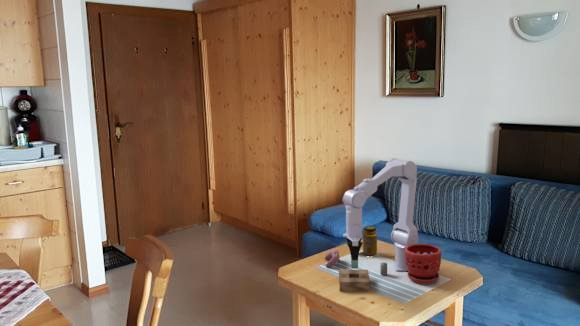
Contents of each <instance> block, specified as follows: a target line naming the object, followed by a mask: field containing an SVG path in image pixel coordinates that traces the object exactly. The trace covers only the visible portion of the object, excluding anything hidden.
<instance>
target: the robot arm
mask: <svg viewBox="0 0 580 326" xmlns="http://www.w3.org/2000/svg"><path fill="white" fill-rule="evenodd" d="M417 173H418V165H416V164H415V162H414V161H411V160H404V159H399V158H398V159H397V158H391V159H390V160H388V161H387V162H386V163H385V166H384V167H383V168H382V169H381V170H380V171H378V172H377V173H376V174H375V175H374V176H373V177H372V178H364V179H363V180H362V182H360V183H359V184H358V185H356V186H355V187H353V189H348V190H347V191H345V192H344V194H343V197H341V198H342V203H343V204H344V207H345V218H346V219H345V224H346V225H345V226H346V227H345V228H346V233H343V234H342V235H343V238H345V239H346V245H347V247H348V249H349V254H350V260H351V259H352V260H358V261H359V257H360V256H359V253H360V252H361V247H363V206H364V205H365V203H366V201H367V199H368V198H369V197H371V196H372V195H373V194H374V193H376V192H377V191H378V187H379V186H380V185H382V184H383V183H385V182H386V181H387V180H389V179H391V178H392V177H396V178H397V179H398V180H399V181H400V182H401V190H400V191H401V192H400V199H399V200H400V201H399V210H398V211H399V213H398V221H397V222H396V223H394V224H393V229H392V230H391V235H390V238H391V241H392V242H393V244H394V246H395V247H394V248H395V250H394V252H395V253H394V255H395V256H394V260H395V261H394V262H392V265H393V267H394V269H395V271H396V272H403V271H404V272H409V270H408V268H407V265H406V261H405V248H406V247H407V246H410V245H415V244H419V234H418V233H419V231H418V230H419V229H418V228H417V227H416V225H415V224H414V223H413V222H414V212H415V202H416V201H415V200H416V191H417V182H418V181H417V180H418V178H417ZM412 253H413V252H412ZM417 254H420V252H419V251H418V252H417ZM409 261H410V259H409Z"/></svg>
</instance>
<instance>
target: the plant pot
mask: <svg viewBox="0 0 580 326" xmlns="http://www.w3.org/2000/svg"><path fill="white" fill-rule="evenodd" d="M418 251H419V252H420V254H417V252H418ZM412 252H413V253H412ZM409 259H410V261H409ZM405 261H406V265H407V268H408V270H409V271H407V277H408V278H409V279H410V281H413V282H414V283H417V284H418V283H419V284H433V283H435V282H437V281H438V280H439V279H440V273H439V270H440V268H441V262H442V250H441V248H440V247H438V246H436V245H432V244H426V243H417V244H415V245H410V246H407V247H406V248H405Z"/></svg>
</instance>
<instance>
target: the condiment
mask: <svg viewBox="0 0 580 326" xmlns="http://www.w3.org/2000/svg"><path fill="white" fill-rule="evenodd" d="M362 234H363V237H362V243H363V244H362V251H359V256H358V257H361V256H362V258H366V259H369V260H370V259H373V258H374V257H377V256H378V255H381V252H378V234H377V227H376V226H374V225H373V226H372V225H366V226H364V227H363V230H362ZM367 256H369V257H367ZM371 256H373V257H371Z"/></svg>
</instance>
